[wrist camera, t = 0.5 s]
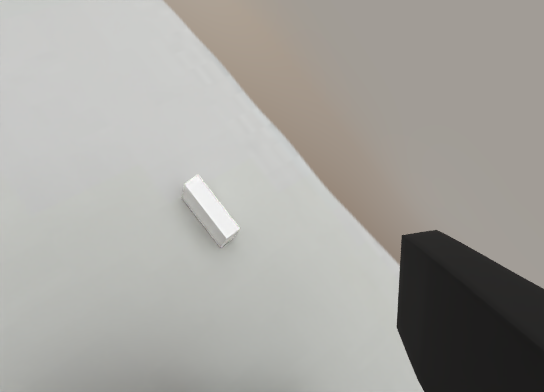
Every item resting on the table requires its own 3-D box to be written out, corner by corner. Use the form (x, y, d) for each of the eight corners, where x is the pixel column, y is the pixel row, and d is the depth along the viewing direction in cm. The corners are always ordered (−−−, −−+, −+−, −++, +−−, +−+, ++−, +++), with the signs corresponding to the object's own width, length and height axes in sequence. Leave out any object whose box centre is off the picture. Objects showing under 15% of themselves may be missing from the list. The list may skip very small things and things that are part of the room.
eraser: (220, 248, 39) (226, 238, 35) (181, 198, 39) (183, 183, 36) (233, 238, 39) (241, 228, 36) (194, 189, 39) (198, 173, 36)
